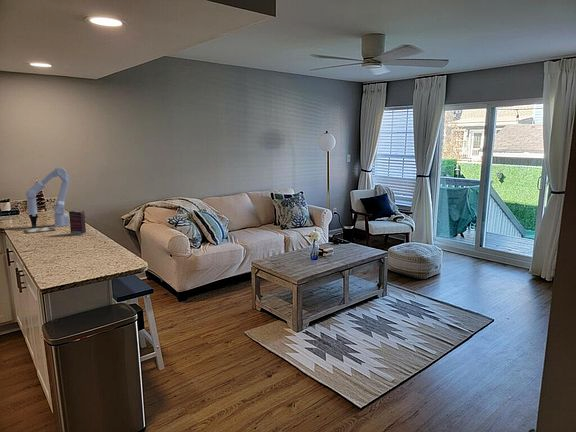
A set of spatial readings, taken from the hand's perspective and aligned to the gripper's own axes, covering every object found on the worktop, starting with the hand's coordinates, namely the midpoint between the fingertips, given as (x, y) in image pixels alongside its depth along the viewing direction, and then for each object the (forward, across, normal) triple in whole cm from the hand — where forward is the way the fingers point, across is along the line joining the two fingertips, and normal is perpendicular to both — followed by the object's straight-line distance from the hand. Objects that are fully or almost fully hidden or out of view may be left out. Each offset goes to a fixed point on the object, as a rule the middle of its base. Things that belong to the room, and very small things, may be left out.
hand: (34, 224), depth 292 cm
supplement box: (+3, +40, +22) cm, 46 cm away
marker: (+2, 0, 0) cm, 2 cm away
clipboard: (+2, +13, +2) cm, 13 cm away
